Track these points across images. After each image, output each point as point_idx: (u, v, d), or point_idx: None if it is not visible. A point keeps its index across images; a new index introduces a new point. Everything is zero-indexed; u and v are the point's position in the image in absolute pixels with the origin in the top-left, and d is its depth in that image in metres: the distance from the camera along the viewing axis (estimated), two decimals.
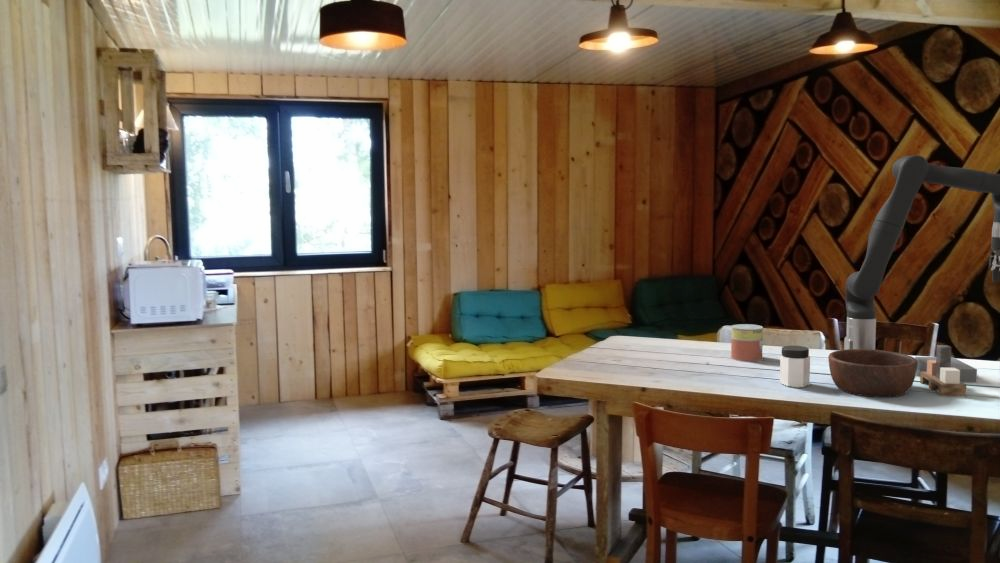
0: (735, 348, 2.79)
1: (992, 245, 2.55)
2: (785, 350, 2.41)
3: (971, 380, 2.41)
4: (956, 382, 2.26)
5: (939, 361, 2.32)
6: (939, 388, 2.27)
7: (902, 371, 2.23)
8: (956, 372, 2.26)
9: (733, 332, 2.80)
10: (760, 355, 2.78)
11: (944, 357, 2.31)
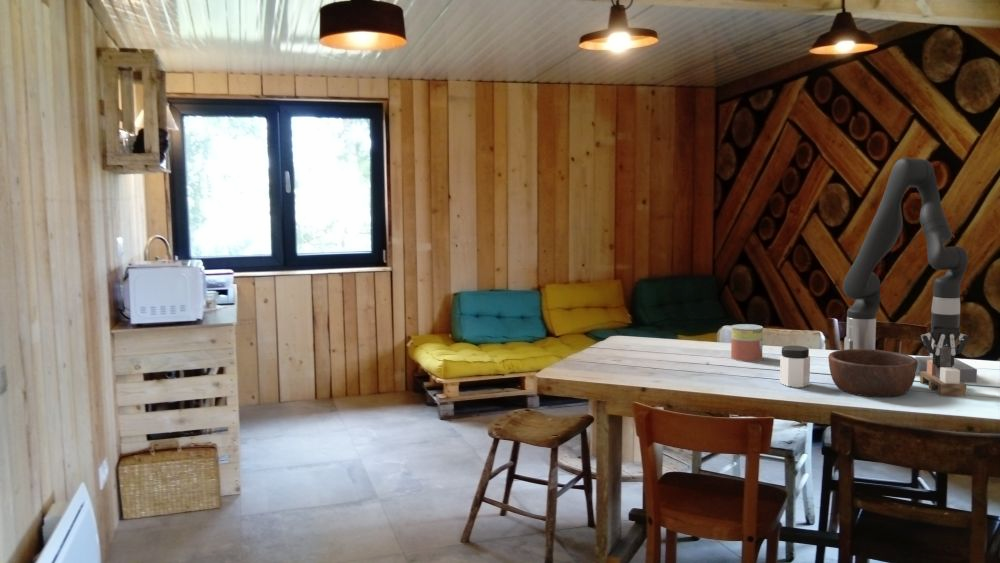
0: (735, 348, 2.79)
1: (950, 324, 2.28)
2: (785, 350, 2.41)
3: (971, 380, 2.41)
4: (956, 382, 2.26)
5: None
6: (939, 388, 2.27)
7: (902, 371, 2.23)
8: (956, 371, 2.26)
9: (733, 332, 2.80)
10: (760, 355, 2.78)
11: (944, 357, 2.31)
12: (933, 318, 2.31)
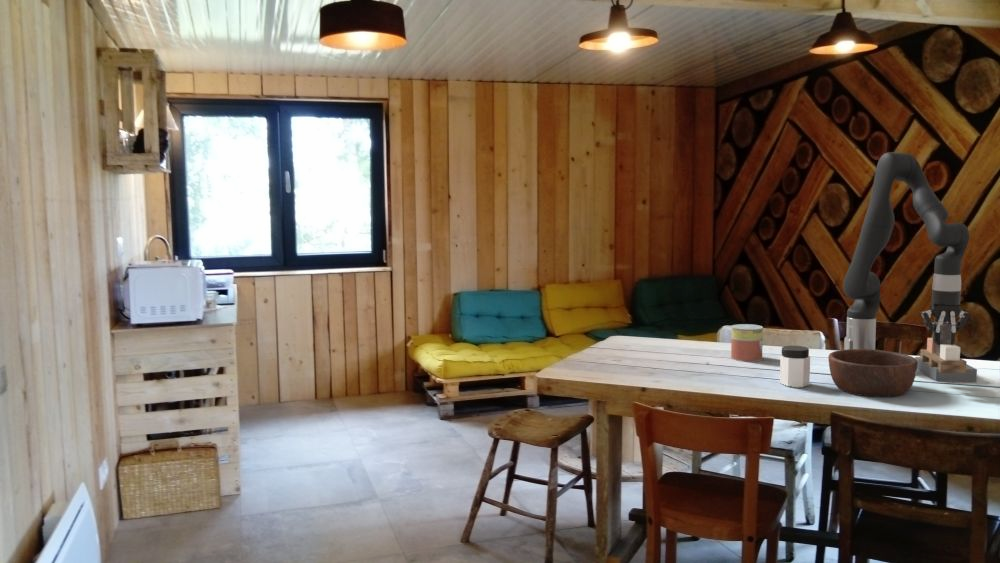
0: (735, 348, 2.79)
1: (951, 301, 2.27)
2: (785, 350, 2.41)
3: (971, 380, 2.41)
4: (956, 359, 2.25)
5: (940, 338, 2.31)
6: (939, 365, 2.27)
7: (902, 371, 2.23)
8: (957, 348, 2.25)
9: (733, 332, 2.80)
10: (760, 355, 2.78)
11: (945, 334, 2.30)
12: (934, 295, 2.30)
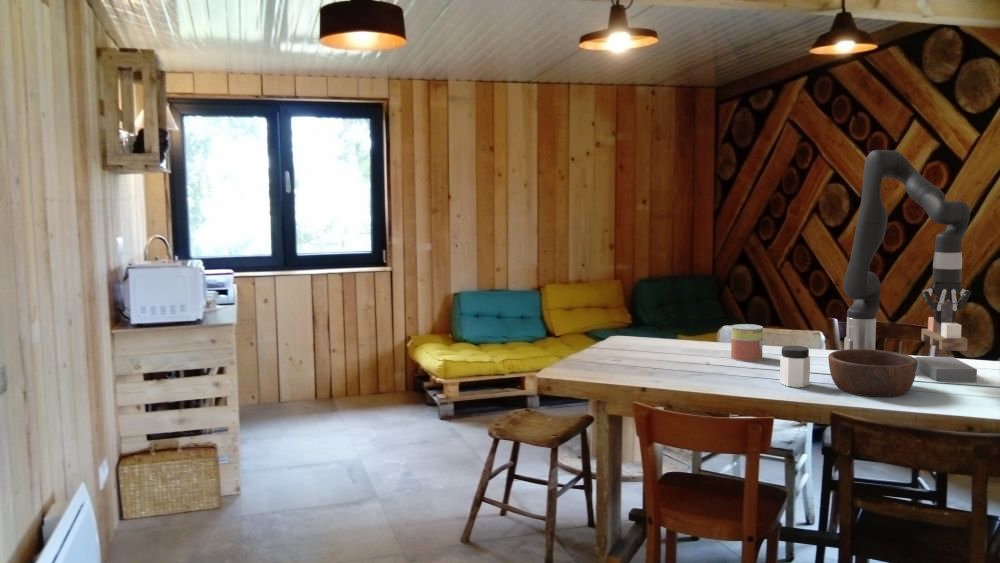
0: (735, 348, 2.79)
1: (952, 278, 2.26)
2: (785, 350, 2.41)
3: (971, 380, 2.41)
4: (957, 337, 2.25)
5: (941, 316, 2.31)
6: (940, 343, 2.26)
7: (902, 371, 2.23)
8: (958, 326, 2.25)
9: (733, 332, 2.80)
10: (760, 355, 2.78)
11: (946, 312, 2.30)
12: (935, 273, 2.30)
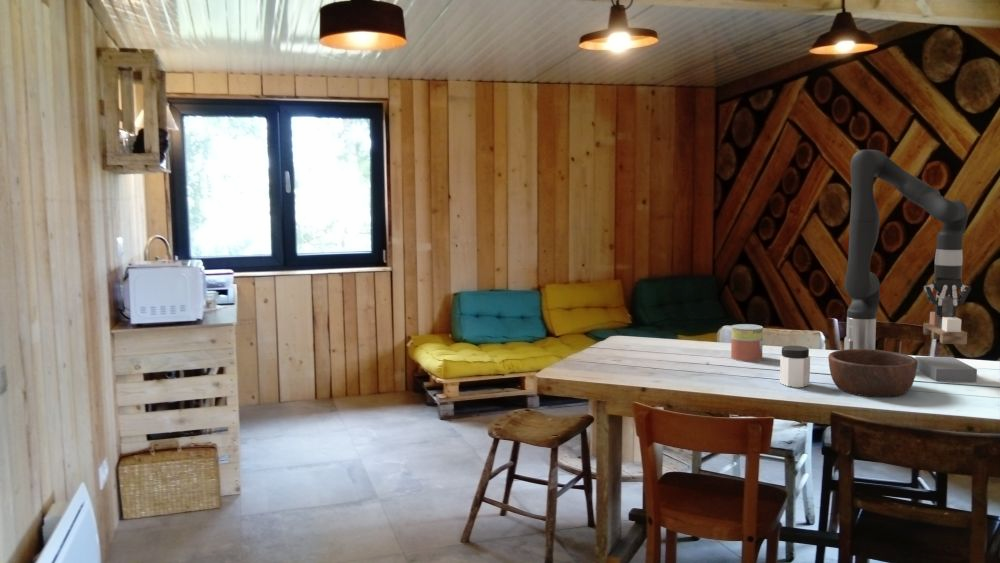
0: (735, 348, 2.79)
1: (952, 275, 2.36)
2: (785, 350, 2.41)
3: (971, 380, 2.41)
4: (957, 330, 2.35)
5: (942, 311, 2.40)
6: (941, 336, 2.36)
7: (902, 371, 2.23)
8: (958, 320, 2.35)
9: (733, 332, 2.80)
10: (760, 355, 2.78)
11: (946, 307, 2.40)
12: (936, 270, 2.40)
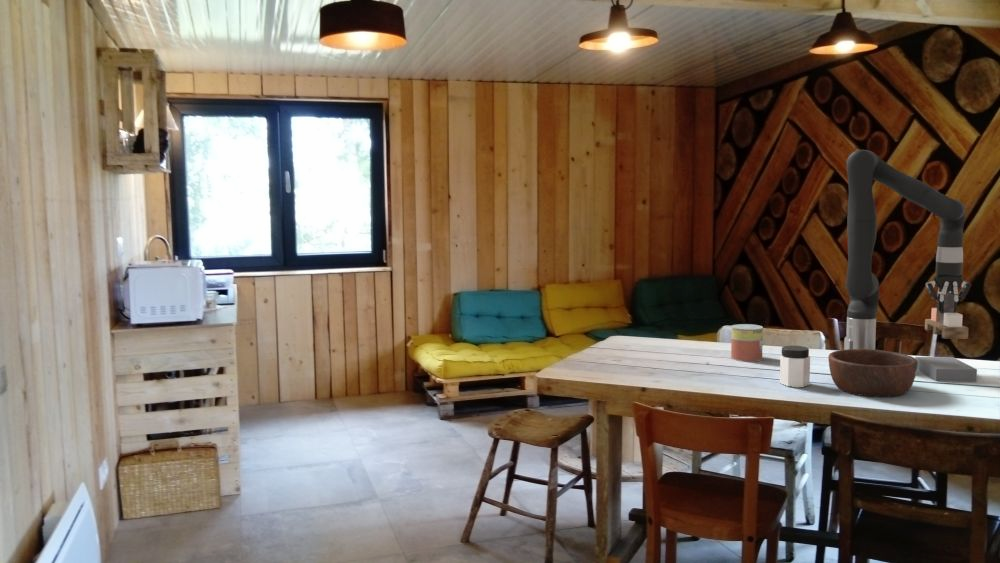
0: (735, 348, 2.79)
1: (953, 271, 2.43)
2: (785, 350, 2.41)
3: (971, 380, 2.41)
4: (959, 326, 2.42)
5: (943, 307, 2.47)
6: (943, 331, 2.43)
7: (902, 371, 2.23)
8: (959, 316, 2.42)
9: (733, 332, 2.80)
10: (760, 355, 2.78)
11: (948, 303, 2.47)
12: (937, 267, 2.47)
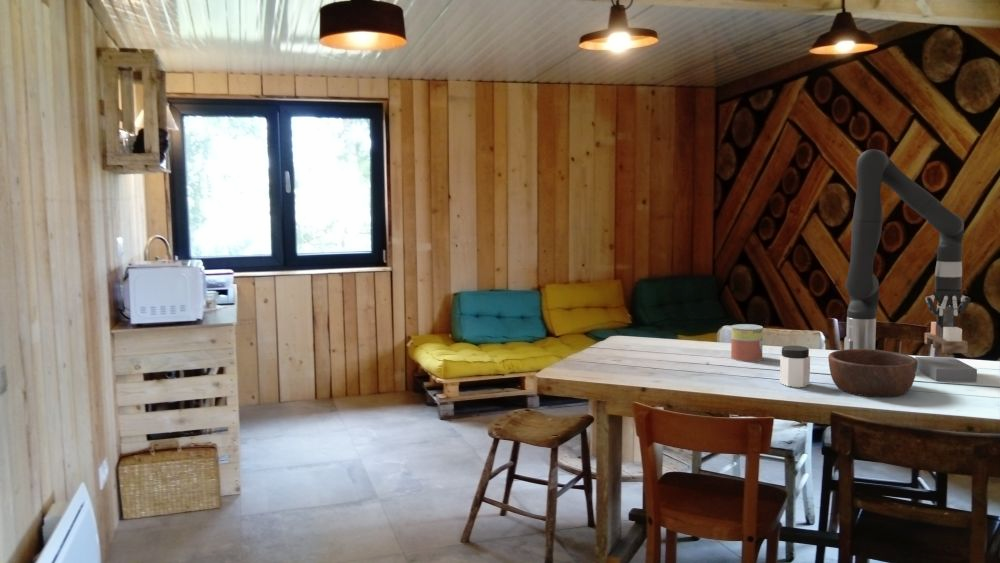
0: (735, 348, 2.79)
1: (952, 286, 2.44)
2: (785, 350, 2.41)
3: (971, 380, 2.41)
4: (958, 340, 2.42)
5: None
6: (942, 346, 2.44)
7: (902, 371, 2.23)
8: (959, 330, 2.42)
9: (733, 332, 2.80)
10: (760, 355, 2.78)
11: (947, 317, 2.47)
12: (937, 281, 2.47)
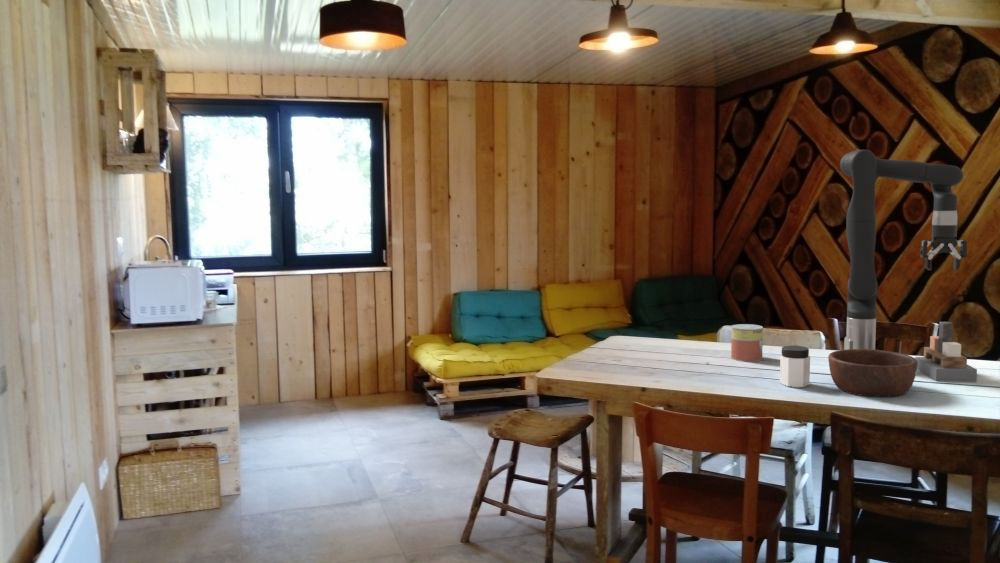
0: (735, 348, 2.79)
1: (948, 233, 2.59)
2: (785, 350, 2.41)
3: (971, 380, 2.41)
4: (957, 355, 2.43)
5: (942, 336, 2.49)
6: (941, 361, 2.44)
7: (902, 371, 2.23)
8: (958, 346, 2.43)
9: (733, 332, 2.80)
10: (760, 355, 2.78)
11: (946, 333, 2.48)
12: (933, 229, 2.62)
